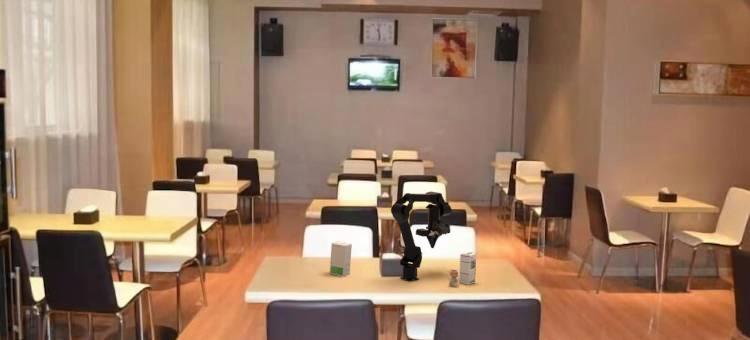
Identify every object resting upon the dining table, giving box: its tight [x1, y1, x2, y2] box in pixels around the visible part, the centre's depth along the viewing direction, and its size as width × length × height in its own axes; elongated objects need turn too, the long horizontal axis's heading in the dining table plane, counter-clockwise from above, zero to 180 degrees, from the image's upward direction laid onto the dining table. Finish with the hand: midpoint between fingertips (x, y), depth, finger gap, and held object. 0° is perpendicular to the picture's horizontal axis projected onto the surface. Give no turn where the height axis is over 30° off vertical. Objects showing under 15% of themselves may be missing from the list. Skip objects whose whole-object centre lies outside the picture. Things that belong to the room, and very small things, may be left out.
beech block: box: [448, 275, 459, 288], centre depth 327 cm, size 4×4×4 cm
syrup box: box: [458, 251, 477, 286], centre depth 332 cm, size 6×6×14 cm
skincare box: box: [329, 240, 353, 278], centre depth 339 cm, size 8×7×16 cm
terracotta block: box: [449, 269, 459, 278], centre depth 339 cm, size 4×4×4 cm
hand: (432, 248), depth 346 cm, fingers closed
